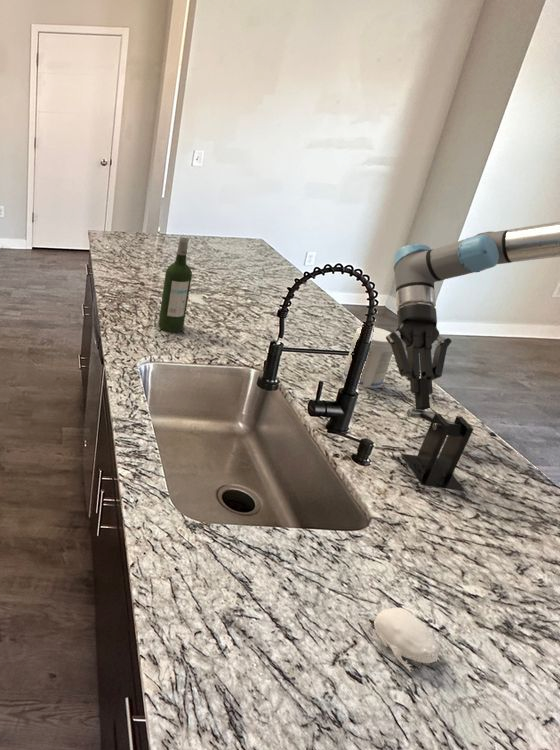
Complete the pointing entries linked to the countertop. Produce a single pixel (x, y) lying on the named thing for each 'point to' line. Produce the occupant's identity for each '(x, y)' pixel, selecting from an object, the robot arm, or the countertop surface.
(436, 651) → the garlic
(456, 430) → the tap lever
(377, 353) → the supplement tub
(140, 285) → the countertop surface
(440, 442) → the bracket
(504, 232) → the robot arm
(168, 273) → the wine bottle
